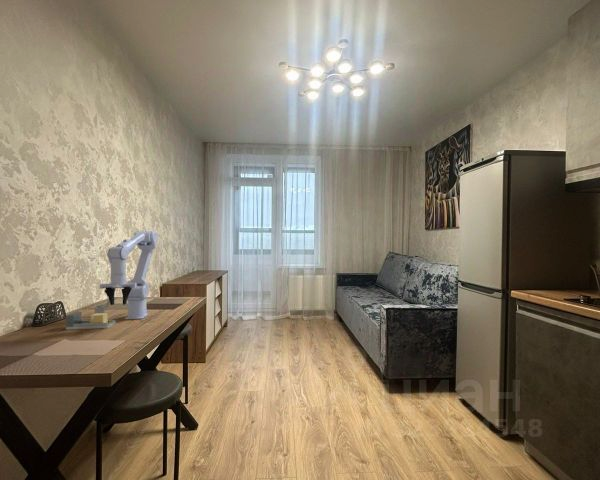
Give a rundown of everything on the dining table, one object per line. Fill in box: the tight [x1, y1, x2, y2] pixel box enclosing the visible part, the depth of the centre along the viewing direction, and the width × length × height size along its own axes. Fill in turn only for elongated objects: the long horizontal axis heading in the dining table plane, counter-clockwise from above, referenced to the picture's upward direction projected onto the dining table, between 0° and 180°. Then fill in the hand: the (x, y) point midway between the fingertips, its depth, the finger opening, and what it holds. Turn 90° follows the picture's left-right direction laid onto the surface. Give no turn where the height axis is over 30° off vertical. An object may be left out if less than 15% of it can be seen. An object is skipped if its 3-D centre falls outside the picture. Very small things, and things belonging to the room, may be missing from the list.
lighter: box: [94, 299, 111, 314], centre depth 159 cm, size 7×2×8 cm, turn 116°
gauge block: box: [89, 312, 109, 323], centre depth 139 cm, size 5×5×4 cm
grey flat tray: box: [65, 318, 117, 331], centre depth 140 cm, size 9×17×2 cm, turn 98°
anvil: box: [65, 311, 82, 328], centre depth 138 cm, size 6×3×5 cm, turn 8°
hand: (118, 304), depth 140 cm, fingers open, 4 cm apart
